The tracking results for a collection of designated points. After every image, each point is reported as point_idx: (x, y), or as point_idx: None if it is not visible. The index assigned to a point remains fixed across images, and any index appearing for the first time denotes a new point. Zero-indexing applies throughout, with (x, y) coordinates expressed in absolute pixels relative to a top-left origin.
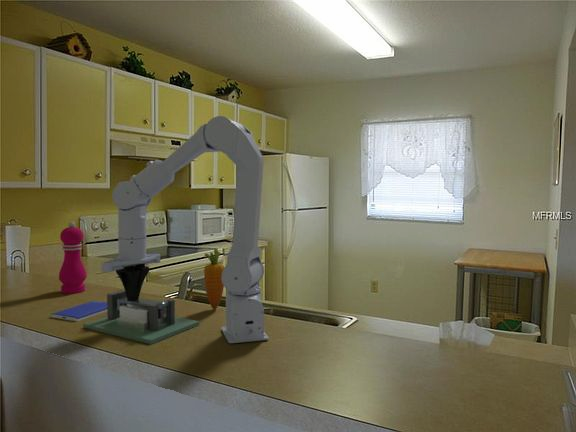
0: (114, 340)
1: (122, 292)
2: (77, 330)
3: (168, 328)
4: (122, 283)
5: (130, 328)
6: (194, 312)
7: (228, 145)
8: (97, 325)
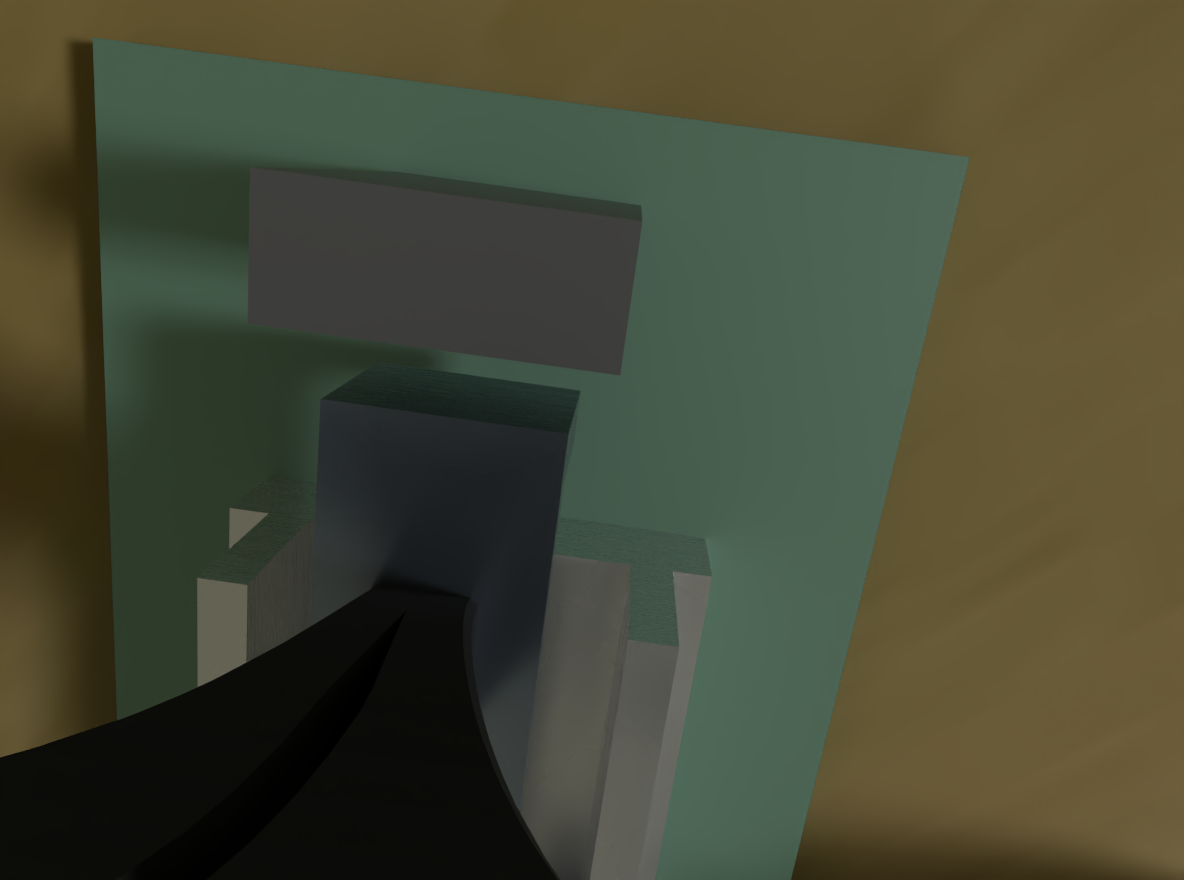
0: (45, 658)
1: (515, 357)
2: (19, 65)
3: None
4: (163, 706)
5: None
6: (1133, 833)
7: None
8: (144, 268)
